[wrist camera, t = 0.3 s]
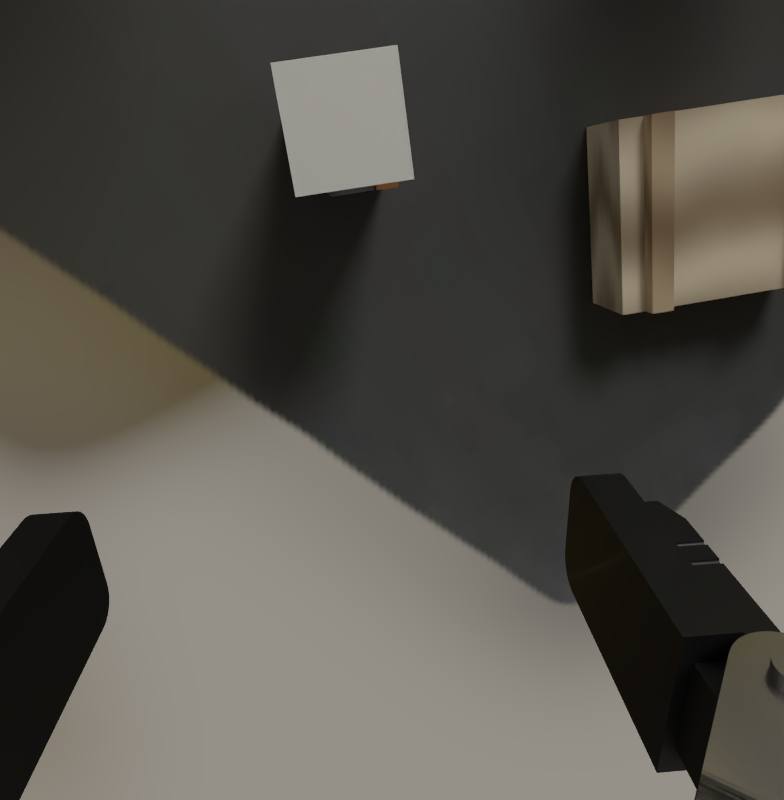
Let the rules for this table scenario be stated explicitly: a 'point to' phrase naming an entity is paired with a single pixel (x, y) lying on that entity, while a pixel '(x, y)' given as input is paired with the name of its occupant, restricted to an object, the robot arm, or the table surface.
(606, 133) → the brown wooden ridged block
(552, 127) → the table surface
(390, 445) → the table surface
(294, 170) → the tall grey box
